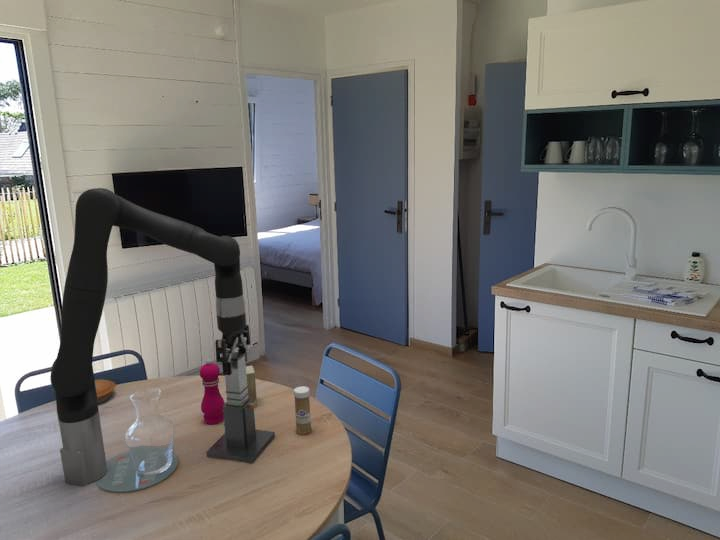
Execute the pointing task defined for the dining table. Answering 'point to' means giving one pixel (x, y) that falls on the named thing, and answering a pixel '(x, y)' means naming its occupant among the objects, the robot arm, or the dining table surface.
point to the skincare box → (251, 384)
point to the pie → (104, 389)
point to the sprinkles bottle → (302, 410)
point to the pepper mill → (211, 394)
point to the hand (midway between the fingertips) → (235, 368)
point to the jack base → (240, 435)
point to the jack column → (237, 381)
